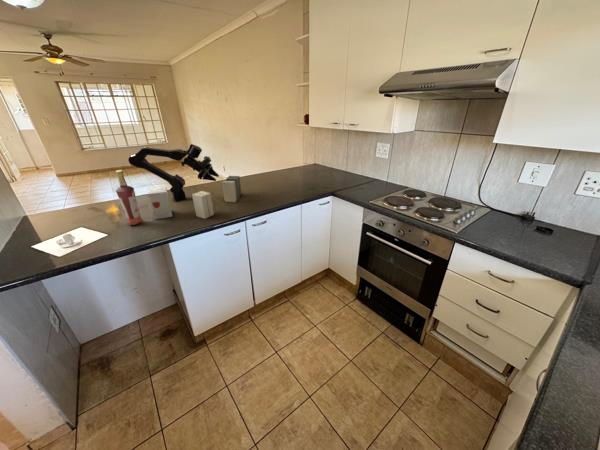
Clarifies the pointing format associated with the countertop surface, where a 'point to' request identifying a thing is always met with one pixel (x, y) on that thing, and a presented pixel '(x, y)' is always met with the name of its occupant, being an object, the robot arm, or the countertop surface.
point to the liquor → (128, 200)
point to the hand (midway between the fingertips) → (217, 178)
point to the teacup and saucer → (69, 241)
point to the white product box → (160, 202)
